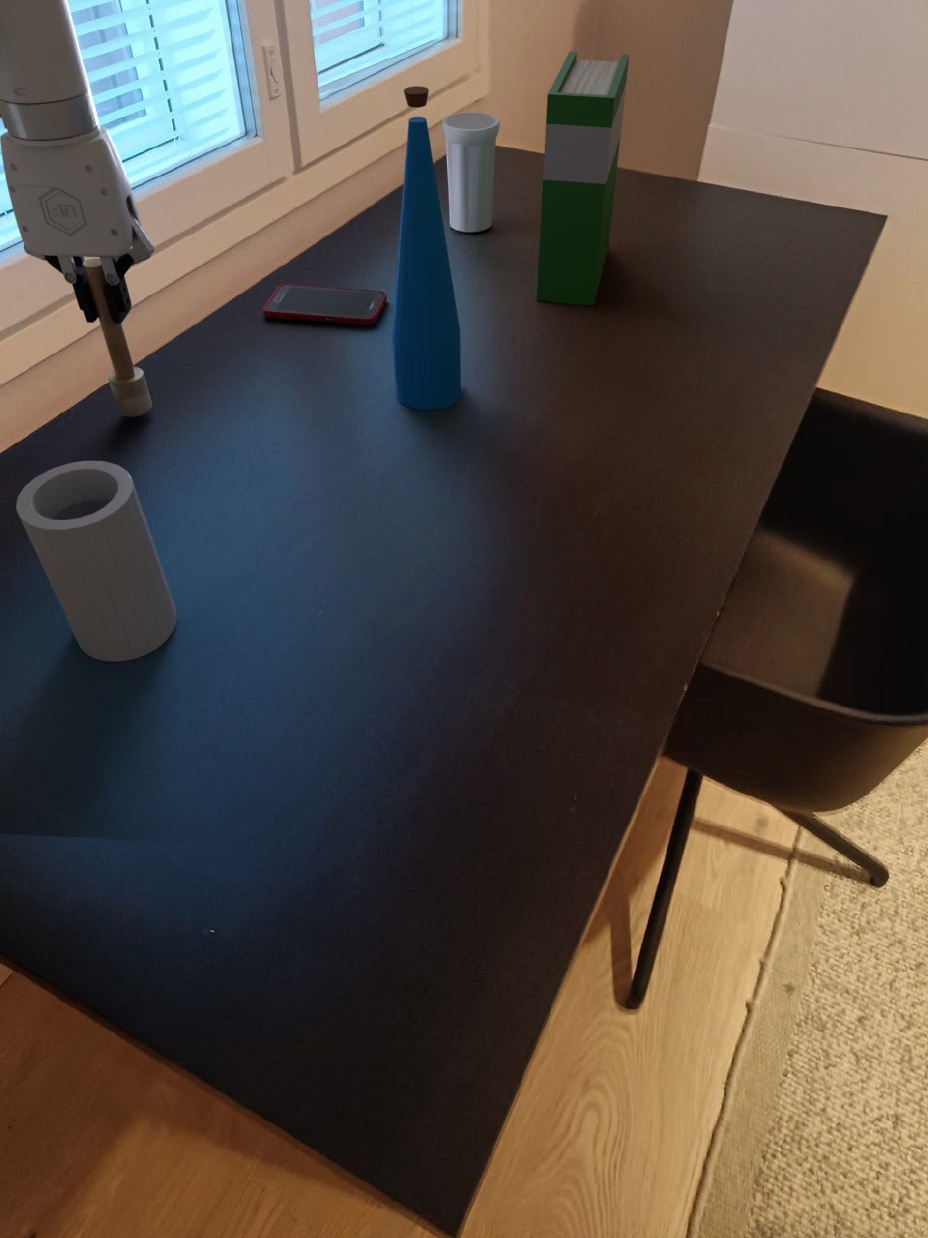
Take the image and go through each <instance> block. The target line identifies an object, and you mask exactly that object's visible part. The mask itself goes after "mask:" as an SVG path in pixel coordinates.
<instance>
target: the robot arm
mask: <svg viewBox="0 0 928 1238" xmlns="http://www.w3.org/2000/svg"><path fill="white" fill-rule="evenodd" d="M0 119H1V121H2V124H3V128H4V129H6V130H7V131H6V132H3V133H2V134H0V150H1V159H2V165H3V170H4V175H5V181H6V186H7V190H8V194H9V198H10V203H11V207H12V211H13V214H14V218H15V221H16V225H17V229H18V231H19V234H20V237H21V240H22V242H23V250H24V252H25V253H26V254H27V255H29V256H31V257H33V258H36V259H38V260H41V261H44V262H47V263H48V264H49V265H50V266H51V267H53V268H54V269H55V270H57V272H59V273H60V274H62V275H63V279H64V280H65V281H66V283H68V284H70V285H71V286H72V288H73V291H74V295H75V298H76V302H77V304H78V308H79V310H80V311H82V312H83V315H84V318H85V321H86V323H87V324H94V323H95V322H96V321H97V320H98V319H99V318H98V315H97V311H96V308H95V305H94V301H93V298H92V295H91V291H90V288H89V285H88V281H87V278H86V275H85V271H84V268H83V262H84V261H86V259H85V258H99V259H100V261H101V264H102V268H103V271H104V274H105V279H106V283H105V284H104V286H103V291H104V294H105V297H106V301H107V304H108V308H109V311H110V315H111V318H112V321H113V322H114V323H115V324H122V323H123V322H124V321H125V318H126V317H128V315H129V313H130V311H131V310H132V305H133V304H132V299H131V296H130V292H129V288H128V284H127V281H126V278H125V275H126V274H127V273H128V271H129V270H130V269H131V267H133V266H134V265H138V264H140V263H142V262H144V261H147V260H149V259H151V257H152V255H153V254H154V253H155V247H154V245H153V244H152V242H151V241H150V239H149V237H148V235H146V233H145V231H144V230H143V228H142V223H141V219H140V215H139V214H140V213H139V209H138V207H137V203H136V199H135V197H134V193H133V190H132V188H131V187H132V186H131V184H130V182H129V178H128V174H127V172H126V170H125V167H124V164H123V162H122V159H121V157H120V154H119V152H118V149H117V147H116V145H115V143H114V140H113V139H112V136H111V135H110V133H109V130H108V129H107V127H105V126H101V125H100V122H99V117H98V115H97V110H96V106H95V103H94V99H93V95H92V90H91V87H90V83H89V79H88V75H87V71H86V68H85V64H84V60H83V56H82V52H81V48H80V44H79V40H78V36H77V33H76V28H75V25H74V22H73V17H72V14H71V9H70V6H69V1H68V0H0Z"/></svg>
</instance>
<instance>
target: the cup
mask: <svg viewBox="0 0 928 1238" xmlns="http://www.w3.org/2000/svg"><path fill="white" fill-rule="evenodd" d="M440 125H441V132H442V134H443V138H444V140H445V152H446V153H445V154H446V169H447V186H448V187H447V189H448V190H447V191H448V210H449V213H448V214H449V225H450V228H451V229H453V230H455V231H457V232H462V233H479V232H483V231H486V230H488V229H489V228H491V226H492V224H493V221H492V218H493V203H494V202H493V199H494V183H495V180H494V179H495V178H494V177H495V164H496V163H495V162H496V161H495V160H496V144H497V137H498V135H499V132H500V126H501V122H500V119H498V117H497V116H495V115H492V114H490V113H485V112H480V111H464V112H457V113H452V114H449V115H447V116H445V117H444V118H443V120H441V123H440Z"/></svg>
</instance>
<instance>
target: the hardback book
mask: <svg viewBox="0 0 928 1238" xmlns="http://www.w3.org/2000/svg"><path fill="white" fill-rule="evenodd" d="M577 55H578V52H577V51H569V52H568V54H567V55H566V57H565V60H564V62H563V63H562V65H561V66H560V69H559V71H558V72H557V74H556V77H555V79H554V81H553V83H552V84H551V87H550V88H549V90H548V92H547V97H546V118H545V134H544V135H545V136H544V152H543V153H544V154H543V155H544V156H543V173H542V193H541V194H542V195H541V208H540V209H541V212H540V228H539V230H540V231H539V249H538V264H537V265H538V266H537V284H536V301H537V302H539V301H540V302H549V303H558V304H559V303H560V304H569V305H579V306H590V307H591V306H592V307H593V306H595V305H594V304H595V302H596V297H597V294H598V290H599V286H600V282H601V278H602V275H603V271H604V267H605V263H606V259H607V256H608V251H609V246H610V238H611V237H610V235H611V228H612V219H613V209H614V200H615V191H616V183H617V182H616V180H617V174H618V173H617V171H618V165H619V164H618V162H619V154H620V153H619V152H620V144H621V136H622V127H623V126H622V125H623V116H624V108H625V107H624V106H625V99H626V89H627V80H628V71H629V61H630V54H625V53H624V54H623V53H622V54H621V56H620V58H619V61H614V60H613V61H611V60H595V59H593V60H591V59H577Z"/></svg>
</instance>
